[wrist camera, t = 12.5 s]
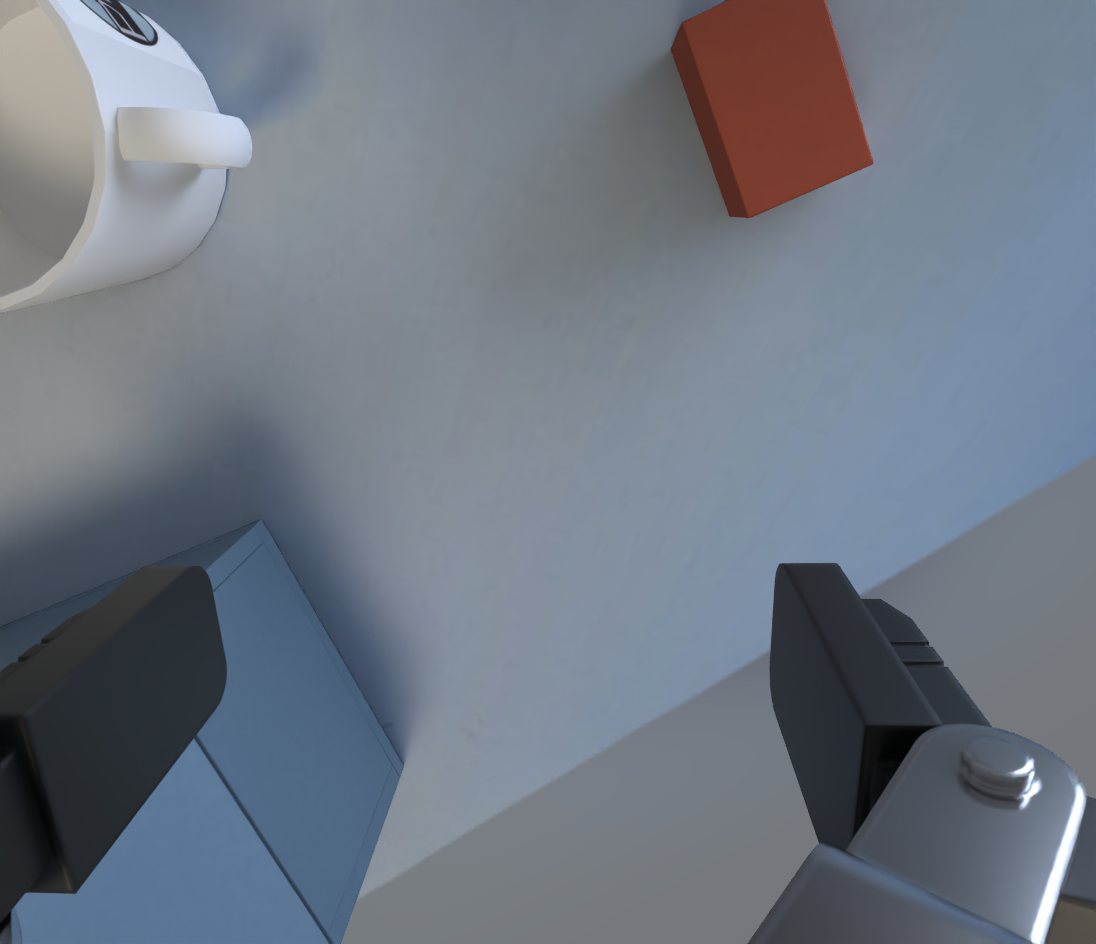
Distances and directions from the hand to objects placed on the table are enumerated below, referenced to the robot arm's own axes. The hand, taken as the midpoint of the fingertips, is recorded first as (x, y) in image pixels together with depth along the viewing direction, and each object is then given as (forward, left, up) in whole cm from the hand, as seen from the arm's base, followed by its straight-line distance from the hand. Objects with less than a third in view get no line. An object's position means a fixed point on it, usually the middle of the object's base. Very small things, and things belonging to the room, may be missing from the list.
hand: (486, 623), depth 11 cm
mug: (+13, +11, -21) cm, 27 cm away
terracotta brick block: (+5, -10, -21) cm, 23 cm away
